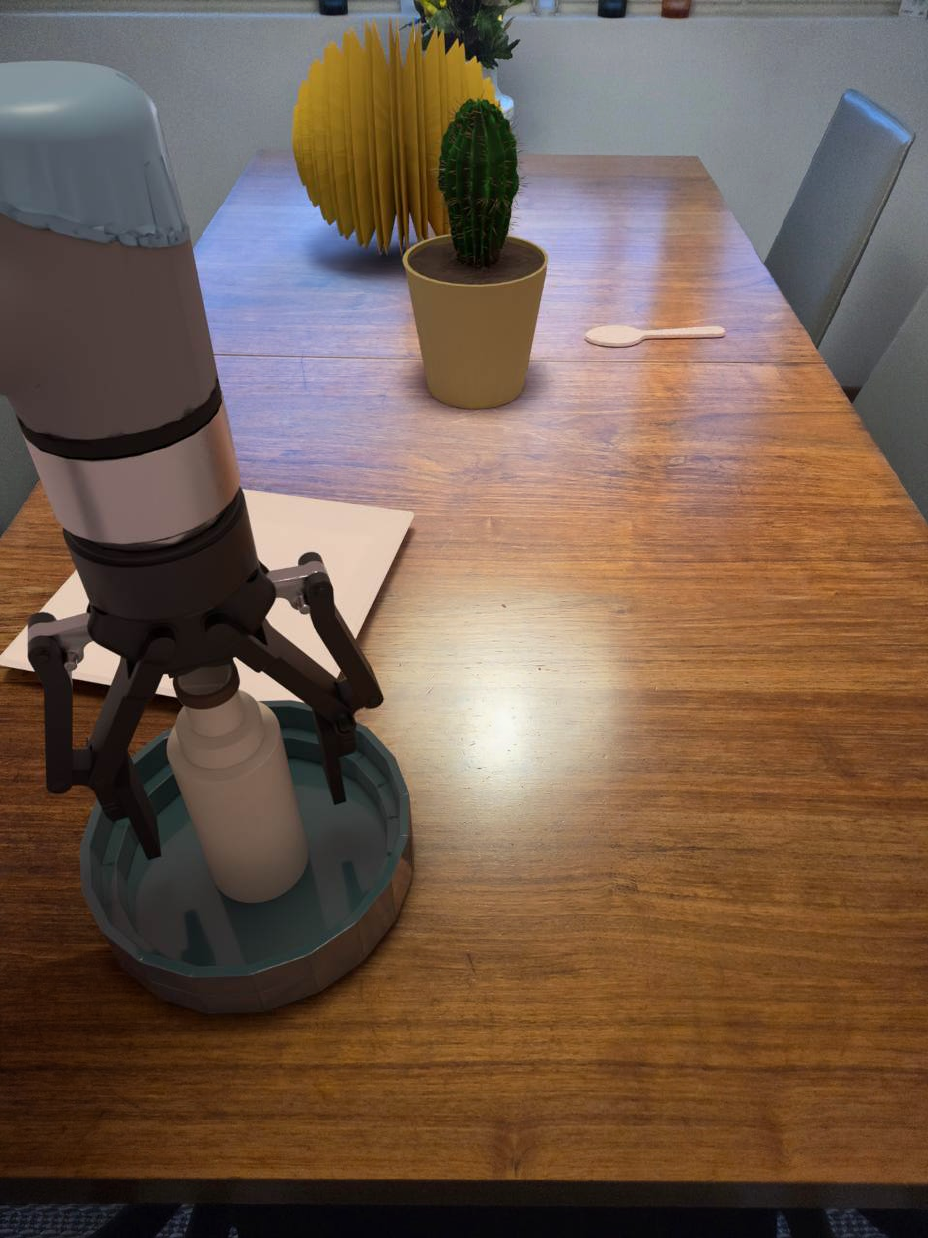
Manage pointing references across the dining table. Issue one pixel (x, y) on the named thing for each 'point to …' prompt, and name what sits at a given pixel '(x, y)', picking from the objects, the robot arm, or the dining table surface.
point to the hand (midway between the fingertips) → (246, 812)
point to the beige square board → (282, 533)
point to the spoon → (645, 334)
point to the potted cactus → (476, 269)
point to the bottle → (237, 786)
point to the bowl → (267, 931)
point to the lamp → (381, 132)
